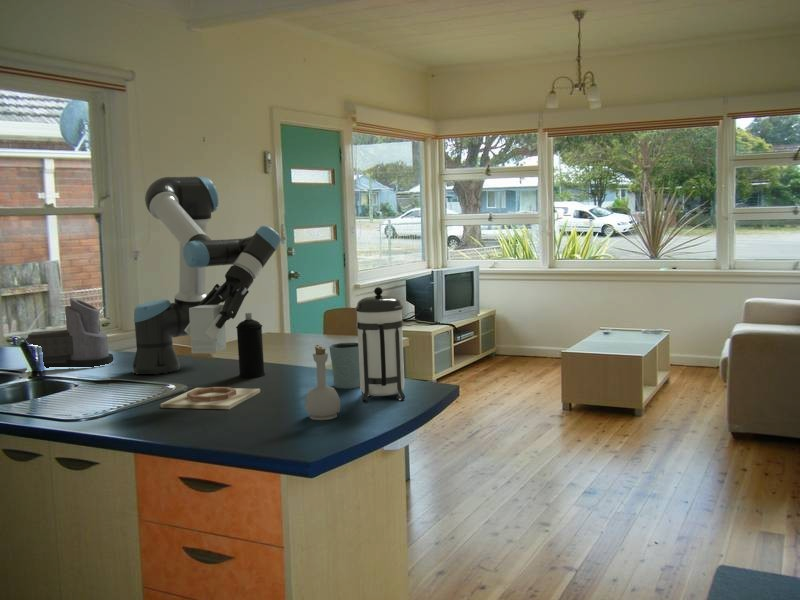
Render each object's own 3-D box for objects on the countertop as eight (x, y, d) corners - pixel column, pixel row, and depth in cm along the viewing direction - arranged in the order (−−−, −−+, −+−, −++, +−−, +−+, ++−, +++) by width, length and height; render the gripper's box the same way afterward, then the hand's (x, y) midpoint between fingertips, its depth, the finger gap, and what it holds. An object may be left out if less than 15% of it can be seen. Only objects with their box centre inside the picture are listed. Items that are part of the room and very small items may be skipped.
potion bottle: (323, 410, 205) (319, 341, 203) (348, 415, 199) (345, 343, 197) (298, 418, 198) (294, 346, 196) (323, 423, 193) (320, 349, 191)
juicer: (119, 359, 296) (114, 293, 293) (114, 366, 280) (109, 297, 278) (31, 365, 289) (25, 298, 286) (22, 374, 273) (15, 302, 271)
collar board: (160, 407, 215) (160, 399, 215) (196, 391, 235) (196, 383, 234) (228, 409, 210) (228, 401, 210) (260, 392, 230) (259, 384, 229)
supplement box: (216, 353, 217) (213, 307, 215) (190, 353, 218) (187, 307, 217) (227, 349, 224) (224, 304, 223) (202, 349, 225) (199, 304, 224)
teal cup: (344, 390, 228) (342, 349, 226) (324, 385, 235) (322, 345, 234) (372, 384, 234) (370, 344, 233) (352, 380, 242) (350, 340, 240)
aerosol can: (262, 377, 251) (258, 314, 249) (236, 378, 251) (232, 315, 249) (267, 372, 259) (263, 311, 257) (242, 373, 259) (238, 311, 257)
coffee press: (341, 399, 217) (335, 289, 214) (383, 388, 228) (379, 283, 225) (385, 408, 205) (380, 291, 202) (428, 396, 216) (424, 286, 213)
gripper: (275, 282, 222) (230, 346, 213) (229, 279, 238) (185, 339, 228) (258, 264, 218) (212, 329, 208) (212, 263, 233) (167, 323, 224)
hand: (198, 335), depth 218 cm, fingers closed on supplement box, 10 cm apart
